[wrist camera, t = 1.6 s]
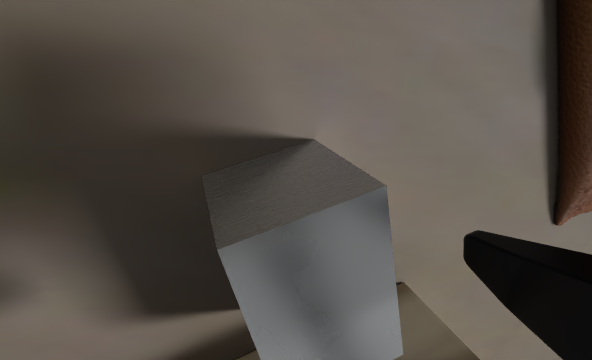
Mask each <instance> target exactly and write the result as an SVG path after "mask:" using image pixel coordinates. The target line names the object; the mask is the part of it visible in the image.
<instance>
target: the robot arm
mask: <svg viewBox="0 0 592 360" xmlns="http://www.w3.org/2000/svg"><path fill="white" fill-rule="evenodd" d="M463 257H464V260H465V262H466V264H467V265H468V266H469V268H470V269H471V270H472V271H473V272H474V273H475V274H476V275H477V276H478V277H479V279H480V280H481V281H482V282H483V283H484V284H485V285H486V286H487V287H488V288H489V289H490V291H491V292H492V293H493V294H494V295H495V296H496V297H497V298H498V299H499V300H500V301H501V302H502V304H503V305H504V306H505V307H506V308H507V309H508V310H510V311H511V312H512V313H513V314H514V315H515V316H516V317H517V318H518V319H519V320H520V321H521V322H522V323H524V324H525V325H526V326H527V327H528V328H529V329H530V330H531V331H532V332H533V333H534V334H535V335H537V336H538V337H539V338H540V339H541V340H542V341H543V342H544V343H545V344H546V345H547V346H549V347H550V348H551V349H552V350H553V351H554V352H555V353H556V354H557V355H558V356H559V357H561V358H562V359H563V360H592V255H591V254H586V253H582V252H577V251H572V250H568V249H563V248H558V247H554V246H549V245H545V244H540V243H535V242H531V241H526V240H521V239H517V238H512V237H508V236H503V235H498V234H494V233H489V232H484V231H479V230H477V231H474V232H471V233H469V234H467V235H465V237H464V251H463Z"/></svg>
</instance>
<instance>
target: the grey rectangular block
mask: <svg viewBox="0 0 592 360" xmlns="http://www.w3.org/2000/svg"><path fill="white" fill-rule="evenodd" d="M201 177H202V182H203V186H204V191H205V196H206V200H207V205H208V210H209V214H210V219H211V224H212V229H213V233H214V238H215V243H216V247H217V251H218V254H219V256H220V259H221V261H222V264H223V266H224V269H225V271H226V274H227V276H228V279H229V281H230V284H231V286H232V289H233V291H234V294H235V296H236V299H237V301H238V304H239V306H240V309H241V312H242V314H243V317H244V319H245V322H246V324H247V327H248V329H249V332H250V334H251V337H252V339H253V342H254V344H255V347H256V349H257V352H258V354H259V357H260V359H261V360H393V359H395V358H397V357H399V356H401V355H403V347H402V337H401V327H400V317H399V307H398V297H397V287H396V277H395V267H394V257H393V247H392V237H391V227H390V217H389V207H388V197H387V187H386V185H384V184H383V183H381V182H380V181H378V180H377V179H375V178H373V177H372V176H370V175H369V174H367V173H366V172H364V171H363V170H361V169H359V168H358V167H356V166H355V165H353V164H352V163H350V162H349V161H347V160H346V159H344V158H342V157H341V156H339V155H338V154H336V153H335V152H333V151H332V150H330V149H329V148H327V147H325V146H324V145H322V144H321V143H319V142H318V141H316V140H315V139H313V140H310V141H307V142H304V143H301V144H298V145H295V146H292V147H289V148H286V149H283V150H280V151H277V152H274V153H271V154H267V155H264V156H261V157H258V158H255V159H252V160H249V161H246V162H243V163H240V164H237V165H234V166H231V167H228V168H224V169H221V170H218V171H215V172H212V173H209V174H206V175H203V176H201Z"/></svg>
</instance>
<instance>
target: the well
mask: <svg viewBox="0 0 592 360" xmlns="http://www.w3.org/2000/svg"><path fill="white" fill-rule="evenodd" d="M396 287H397V297H398V307H399V317H400V327H401V337H402V347H403V355H401V356H399V357H397V358H395V359H393V360H480V359H479V358H478V357H477V356H476V355H475V354H474V353H473V352H472V351H471V350H470V349H469V348H468V347H467V346H466V345H465V344H464V343H463V342H462V341H461V340H460V339H459V338H458V337H457V336H456V335H455V334H454V333H453V332H452V331H451V330H450V329H449V328H448V327H447V326H446V325H445V324H444V323H443V322H442V321H441V320H440V319H439V318H438V317H437V316H436V315H435V314H434V313H433V312H432V311H431V310H430V309H429V308H428V307H427V306H426V305H425V304H424V303H423V301H422V300H421V299H420V298H419V297H418V296H417V295H416V294H415V293H414V292H413V291H412V290H411V289H410V288H409V287H408V286H407V285H406V284H405V283H404V282H403V283H401V284H399V285H397V286H396ZM236 360H261V359H260V357H259V354H258V352H257V350H255V351H253V352H251V353H249V354H247V355H245V356H242V357H240V358H238V359H236Z"/></svg>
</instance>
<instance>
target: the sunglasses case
mask: <svg viewBox="0 0 592 360" xmlns="http://www.w3.org/2000/svg"><path fill="white" fill-rule="evenodd" d="M557 12H558V18H557V24H558V35H557V37H558V42H557V43H558V85H559V86H558V92H559V108H558V112H559V115H558V122H559V125H558V127H559V131H558V134H559V143H558V157H559V169H558V178H557V197H556V202H555V208H554V209H555V225H558V226H560V225H563V223H564V222H566V221H567V220H568V219H570V218H571V217H574V216H576V215H578V214H581V213H587V212H590V211H592V0H557Z"/></svg>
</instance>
